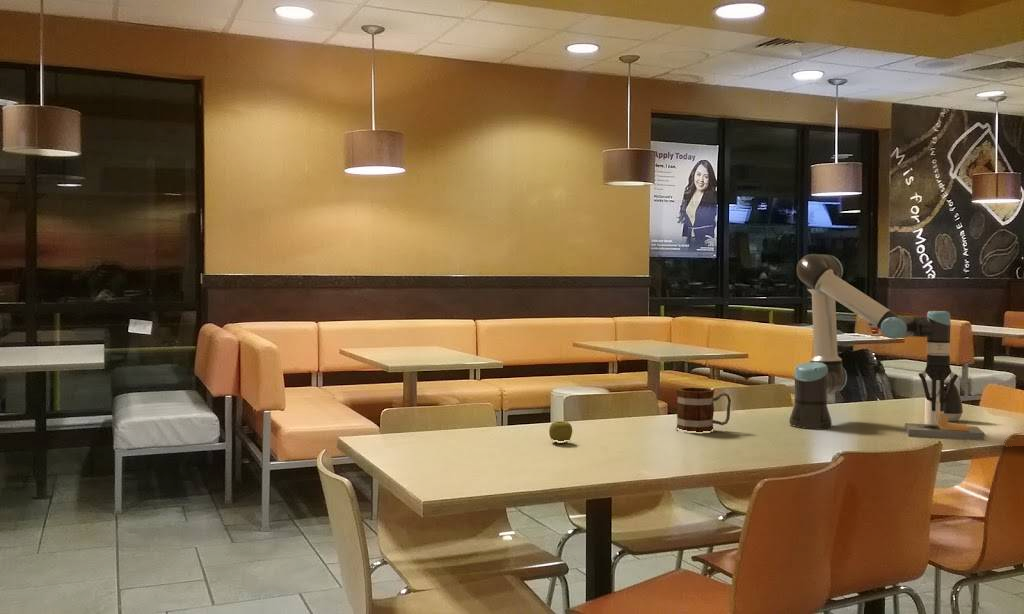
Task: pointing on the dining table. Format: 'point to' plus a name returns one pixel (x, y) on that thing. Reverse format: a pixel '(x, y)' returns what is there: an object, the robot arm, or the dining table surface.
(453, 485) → the dining table surface
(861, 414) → the dining table surface
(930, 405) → the can
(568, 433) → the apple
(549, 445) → the dining table surface
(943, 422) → the orange l-shaped block
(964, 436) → the socket plate
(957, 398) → the black rounded upright piece
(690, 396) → the mug
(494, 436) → the dining table surface
